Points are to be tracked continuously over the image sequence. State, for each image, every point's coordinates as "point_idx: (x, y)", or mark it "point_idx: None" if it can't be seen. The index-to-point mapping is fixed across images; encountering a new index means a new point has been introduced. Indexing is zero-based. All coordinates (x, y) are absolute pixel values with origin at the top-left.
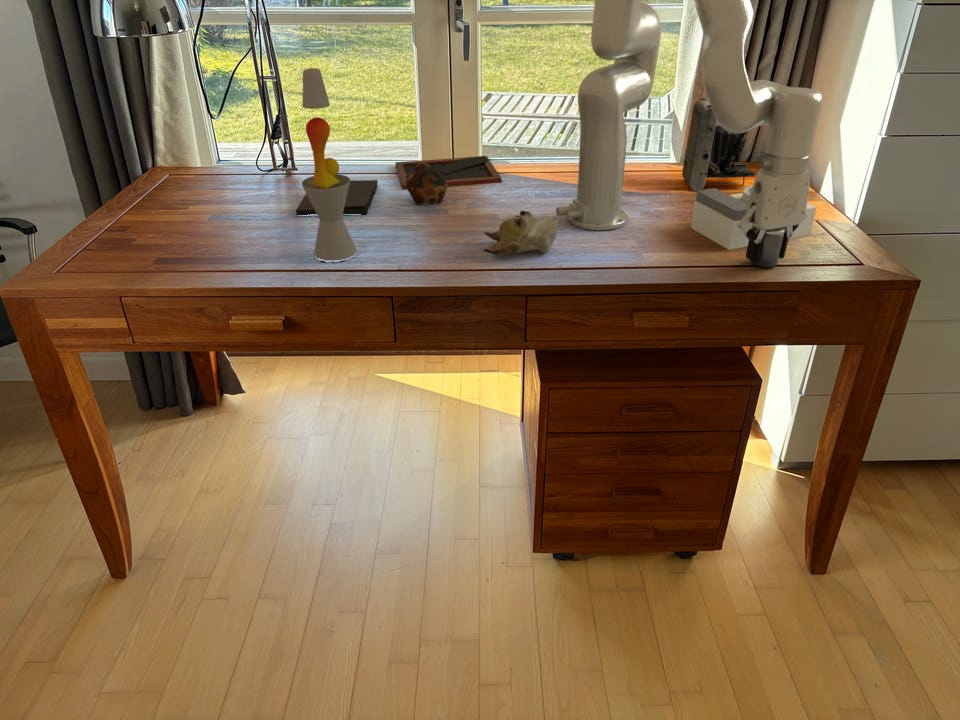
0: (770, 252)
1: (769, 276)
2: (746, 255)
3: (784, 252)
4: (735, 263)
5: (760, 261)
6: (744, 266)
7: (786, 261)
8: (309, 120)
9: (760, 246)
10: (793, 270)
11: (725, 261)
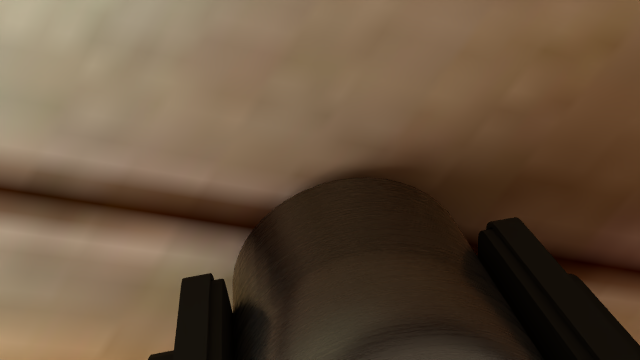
0: (439, 275)
1: (456, 29)
2: None
3: (189, 316)
4: None
5: (461, 235)
6: None
7: (113, 285)
8: None
9: (617, 339)
10: (141, 103)
11: None
